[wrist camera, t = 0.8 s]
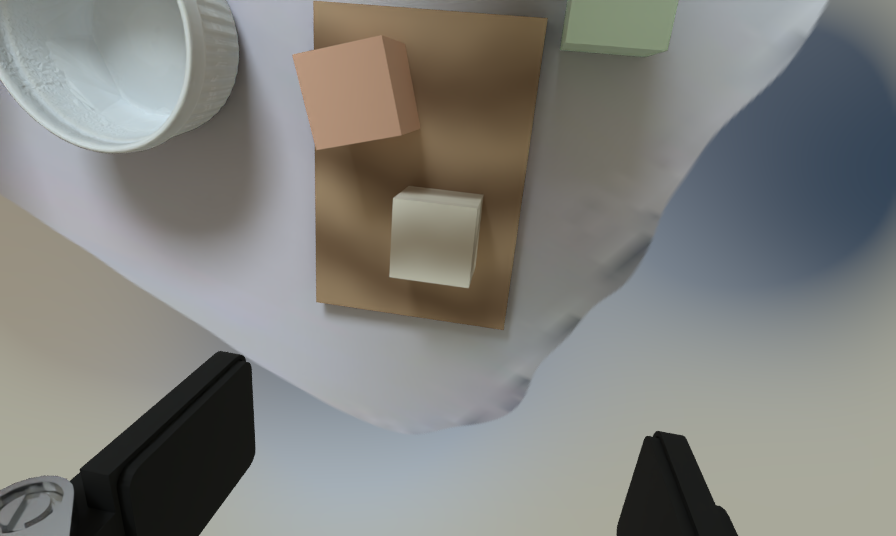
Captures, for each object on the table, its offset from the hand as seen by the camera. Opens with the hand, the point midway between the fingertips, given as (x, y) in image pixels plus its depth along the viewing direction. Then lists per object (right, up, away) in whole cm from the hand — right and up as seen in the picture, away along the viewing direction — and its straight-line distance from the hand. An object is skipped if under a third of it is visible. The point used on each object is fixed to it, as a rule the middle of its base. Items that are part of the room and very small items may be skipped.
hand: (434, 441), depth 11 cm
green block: (+10, +19, +17) cm, 27 cm away
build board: (-2, +10, +22) cm, 24 cm away
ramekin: (-19, +19, +22) cm, 35 cm away
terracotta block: (-4, +15, +19) cm, 25 cm away
